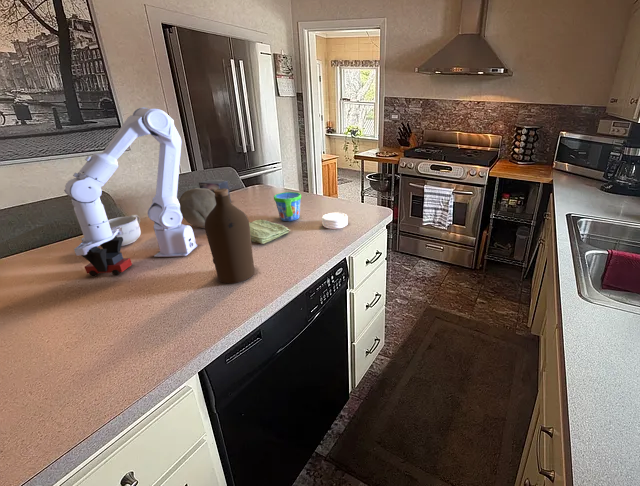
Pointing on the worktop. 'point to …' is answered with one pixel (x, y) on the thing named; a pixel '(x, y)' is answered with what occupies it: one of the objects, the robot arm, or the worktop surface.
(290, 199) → the snack cup
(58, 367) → the worktop surface
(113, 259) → the toy car
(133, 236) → the teacup
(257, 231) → the washcloth
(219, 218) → the olive oil
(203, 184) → the small box
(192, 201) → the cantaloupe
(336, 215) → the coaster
